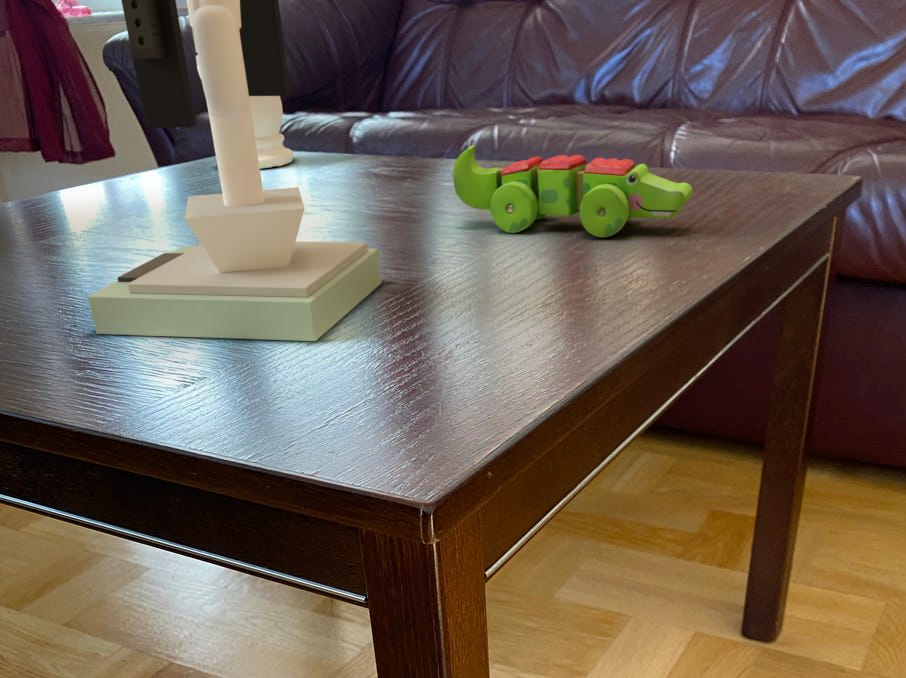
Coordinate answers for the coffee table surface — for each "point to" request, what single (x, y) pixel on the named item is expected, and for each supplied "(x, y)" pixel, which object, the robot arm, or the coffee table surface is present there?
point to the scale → (239, 295)
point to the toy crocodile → (567, 191)
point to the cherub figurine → (268, 130)
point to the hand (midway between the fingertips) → (224, 110)
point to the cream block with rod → (236, 156)
